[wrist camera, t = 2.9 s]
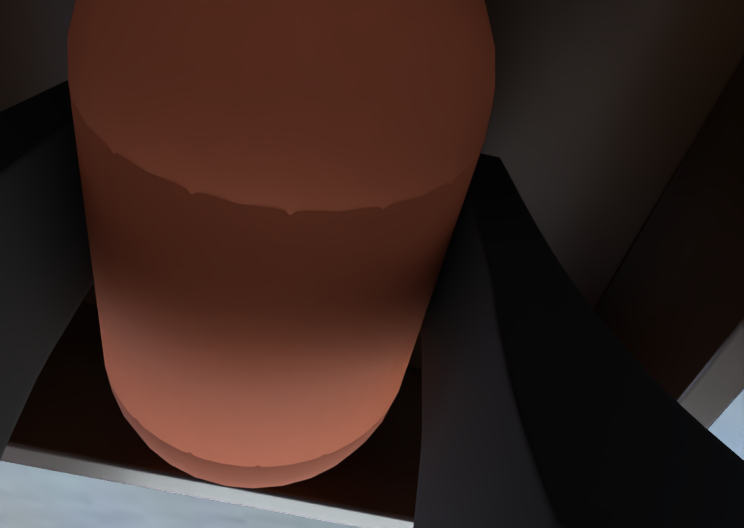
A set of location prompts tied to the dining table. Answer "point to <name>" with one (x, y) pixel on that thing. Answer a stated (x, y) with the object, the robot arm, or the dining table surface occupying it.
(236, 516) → the dining table surface
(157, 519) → the dining table surface
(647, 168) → the dark wooden tray
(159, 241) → the sweet potato
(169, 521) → the dining table surface
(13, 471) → the dining table surface
